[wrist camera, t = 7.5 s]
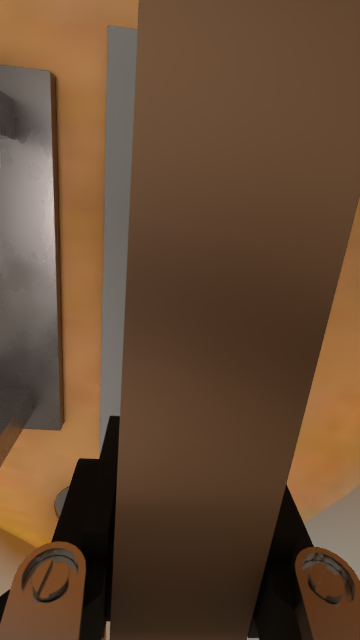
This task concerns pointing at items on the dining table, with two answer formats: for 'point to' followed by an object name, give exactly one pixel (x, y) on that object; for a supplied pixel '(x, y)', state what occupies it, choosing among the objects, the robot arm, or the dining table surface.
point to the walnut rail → (225, 293)
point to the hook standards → (29, 257)
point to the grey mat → (116, 212)
